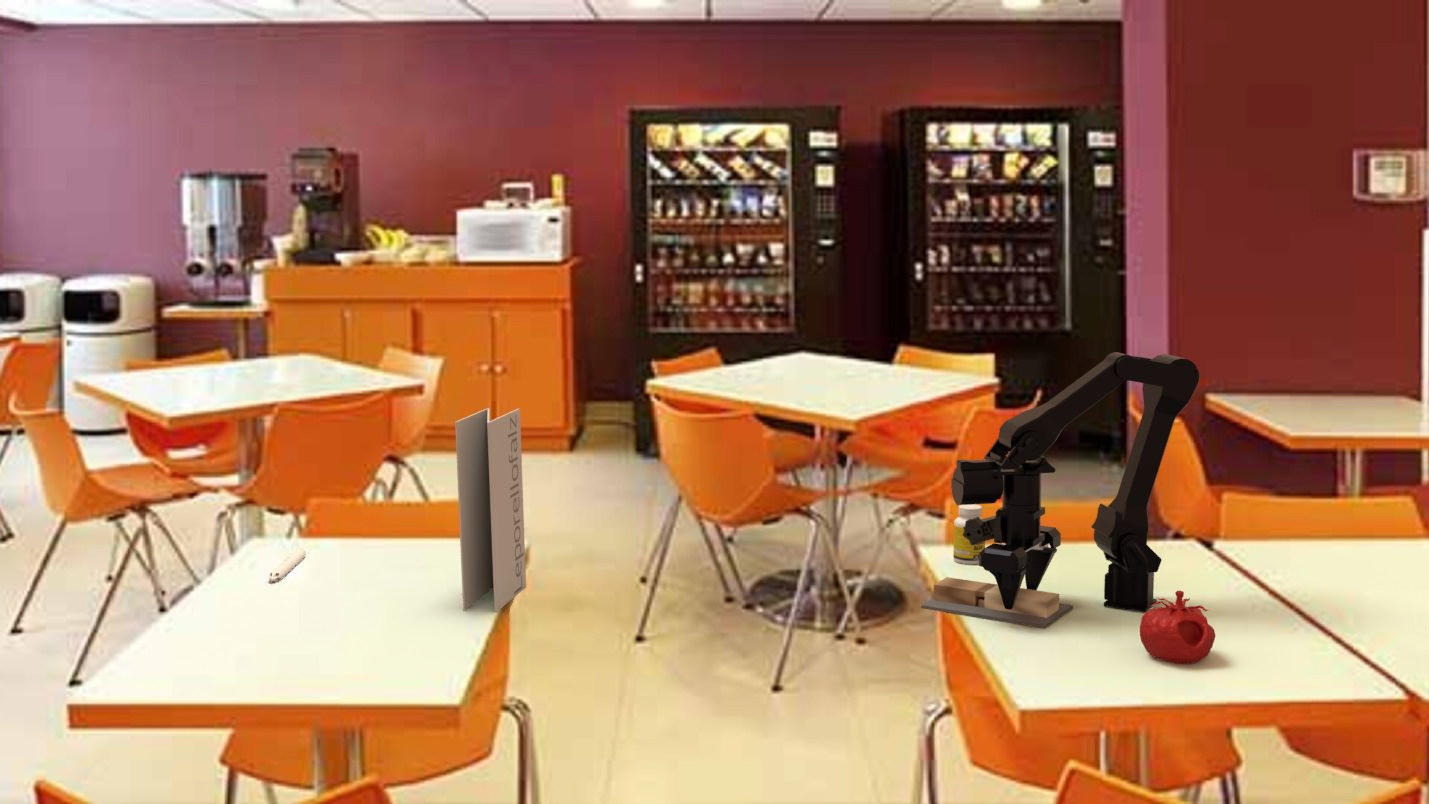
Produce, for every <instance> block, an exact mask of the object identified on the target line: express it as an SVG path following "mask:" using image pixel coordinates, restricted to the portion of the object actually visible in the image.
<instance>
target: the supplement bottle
mask: <svg viewBox="0 0 1429 804" xmlns="http://www.w3.org/2000/svg"><path fill="white" fill-rule="evenodd" d="M958 515H959V516H958V517H956V519H954V523H953V524H954V525H953V561H954V562H956V563H958V564H962V565H979V553H980V552H981V551H982V550H983V549H984V548H986V541H983V542H979V543H978V544H976V545H971V544H970V541H969V540H968V539H967V538H965V537H964V536H963V533H964V528H963V527H965V523H966V521H967V520H969V519H974V518H976V517H979V518H980V519H983V517H981V516H982V515H983V507H982V505H981V504H972V505H958Z"/></svg>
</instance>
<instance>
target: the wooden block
mask: <svg viewBox="0 0 1429 804" xmlns="http://www.w3.org/2000/svg"><path fill="white" fill-rule="evenodd" d="M996 585H998V584H995V583H989V582H983V581H976V580H975V581H974V580H969V579H963V578H955V577H948V576H947V577H944V578H943V579H941V580H940V581H938V582H936V583H934V584H933V598H934V600H937V601H943V602H950V603H956V604H962V605H968V606H977V605H978V599H980V598H981V597H985V592H986V591H988V590H989V589H991V588H993V587H994V586H996Z"/></svg>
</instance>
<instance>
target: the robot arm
mask: <svg viewBox="0 0 1429 804" xmlns="http://www.w3.org/2000/svg"><path fill="white" fill-rule="evenodd" d="M1200 373H1201V372H1200V371H1199V369H1198V368H1197V365H1196V364H1195V363H1194V362H1193V361H1192V360H1189V359H1188V358H1184V357H1180V356H1176V355H1171V354H1168V353H1167V354H1165V353H1163V354H1158V355H1156V356H1155V357H1153V358H1148V357H1142V356H1135V355H1129V354H1125V353H1121V352H1115V351H1114V352H1111V353H1110V354H1108V355H1107V356H1106V357H1104V359H1103V360H1102V361H1101V362H1099V363H1097V364H1096V365H1095V366H1094V367H1093V368H1091V369H1090V370H1088V371H1087V372H1086V373H1084V374H1083V375H1082V376H1080V377H1079V378H1078V379H1077V380H1075V381H1074V382H1072V383H1071V384H1069V385H1068V386H1067V387H1066V388H1064V389H1063V390H1061V391H1060V392H1059V393H1058V394H1056V395H1055V396H1054V397H1052V398H1051V399H1049V400H1048V401H1047V402H1045V403H1043V404H1041V405H1039V406H1037V407H1034V408H1029V409H1027V410H1024V411H1022V412H1020V413H1019V414H1016V415H1014V416H1012V417H1011V418H1009V419H1006V420H1005V421H1004V422H1003V424H1001V426H1000V428H999V432H998V437H997V439H996V440H995V442H993V444H992V445H991V447H990V448H989V449H988V451H987V453H986V454H985V455H984V456H983V457H984V459H973V460H972V459H971V460H970V459H957V460H956V467H955V468H954V470H953V475H952V478H951V479H950V480H951V481H950V485H951V486H950V487H951V495H952V498H953V501H954V503H955V504H956V506H960V505H972V504H975V505H991V504H995V503H997V500H1002V501H1001V502H1002V504H1001V505H1002V507H1000V508H997V510H996V511H995V515H992V516H989V517H984V518H982V519H980V518H979V517H976V518H974V519H969V520H967V521H966V523H965V527H963V528H964V533H963V536H964V537H965V538H967V539H968V540H969V541H970V544H971V545H976V544H978V543H979V542H983V541H985V542H986V541H990V540H993V543H992V544H990V545H987V546H985V548H984V549H983V550H982V551H981V552H980V553H979V564H978V566H979V567H982V568H983V570H985V571H987V572H989V573H990V574H992V576H993V577H994V578H995V581H996V583H997V585H998V587H999V591H1000V594H1001V597H1002V601H1003V604H1004V607H1005V609H1009V610H1011V609H1013V606H1014V604H1015V601H1016V598H1017V595H1018V592H1019V590H1020V588H1022V587H1021V586H1022V583H1023V580H1024V578H1025V586H1026V588H1025V589H1030V590H1037V591H1038V588H1039V586H1040V585H1041V582H1042V580H1043V578H1044V576H1045V574H1046V572H1047V570H1048V568H1049V566H1050V564H1051V562H1052V560H1053V558H1054V557H1055V554H1056V553H1057V551H1058V547H1060V546H1061V542H1062V541H1061V540H1062V539H1061V538H1062V536H1061V535H1062V534H1061V532H1060V531H1059V530H1058V528H1056V527H1054V526H1046V525H1041V523H1042V522H1041V517H1042V516H1044V515H1045V514H1046V507H1045V506H1042V474H1053V473H1056V468H1055V467H1054V466H1053V465H1051V464H1050V463H1049V461H1048V460H1047V458H1046V457H1045V456H1043V455H1044V454H1045V453H1046V452H1047V451H1048V450H1049V448H1051V447H1052V446H1053V445H1054V443H1056V441H1057V440H1058V437H1059V436H1060V434H1061V433H1062V431H1063V430H1064V429H1065V428H1066V427H1067V425H1070V423H1072V422H1074V420H1076V419H1077V418H1079V417H1080V416H1081V415H1082V414H1084V413H1085V412H1086V411H1088V410H1089V409H1090V408H1092V407H1093V406H1095V405H1096V404H1097V403H1099V402H1100V401H1101V400H1103V399H1105V397H1107V396H1108V395H1110V394H1111V393H1112V392H1114V391H1115V390H1116V389H1118V388H1119V387H1120V386H1122V385H1123V384H1124V383H1125V382H1128V381H1130V382H1136V383H1141V384H1142V397H1143V399H1142V400H1143V413H1142V416H1141V419H1140V422H1139V425H1138V428H1137V430H1136V435H1135V437H1134V441H1133V443H1132V447H1131V450H1130V454H1129V455H1128V456H1129V457H1128V459H1127V463H1126V466H1125V469H1124V473H1123V475H1122V478H1121V482H1120V485H1119V487H1118V492H1117V494H1116V497H1115V498H1114V499H1113V500H1112V501H1111V502H1110V503H1109V504H1108V506H1107V505H1105V504H1103V503H1100V504H1099V505H1098V508H1097V514H1096V518H1095V521H1093V523H1092V525H1091V529H1093V540H1094V543H1095V545H1096V546H1097V547H1098V548H1099V549H1100V550H1101V551H1102V553H1103V555H1104V558H1105V560H1106V561H1108V562H1111V563H1110V564H1108V565H1107V566H1108V569H1107V570H1108V571H1107V572H1106V573H1105V574H1104V588H1103V589H1104V594H1103V599H1104V600H1105V601H1104V602H1103V607H1108V608H1114V609H1120V610H1121V609H1122V610H1128V611H1129V610H1130V611H1135V612H1141V613H1146V612H1147V611H1149V609H1151V608H1152V607H1153V606H1154V605H1153V604H1154V603H1156V602H1158V601H1157V599H1158V598H1154V588H1155V587H1154V585H1155V584H1154V582H1155V578H1154V577H1155V573H1157V572H1158V571H1159V568H1160V565H1161V563H1162V558H1161V557H1160V556H1159V555H1158V554H1157V553H1156V552H1155V551H1154V550H1153V549H1152V548H1151V547H1150V546H1149V545H1148V539H1149V538H1148V537H1149V533H1150V532H1149V531H1150V523H1149V513H1148V505H1149V501H1150V499H1151V496H1152V492H1153V490H1154V487H1155V482H1156V479H1157V476H1158V474H1159V470H1160V467H1161V464H1162V461H1163V458H1164V454H1165V452H1166V448H1167V445H1168V443H1169V439H1170V435H1171V433H1172V429H1173V426H1174V423H1175V420H1176V419H1177V417H1178V416H1179V414H1180V413H1182V411H1183V410H1184V409H1185V408H1186V407H1187V405H1189V403H1190V402H1191V400H1192V398H1193V395H1194V393H1195V392H1196V389H1197V388H1198V386H1199V384H1200V378H1201V374H1200ZM1001 498H1002V499H1001ZM1149 605H1153V606H1149Z"/></svg>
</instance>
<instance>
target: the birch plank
mask: <svg viewBox="0 0 1429 804" xmlns="http://www.w3.org/2000/svg"><path fill="white" fill-rule="evenodd" d="M1059 603H1060V593H1055V592H1050V591H1042V590H1038V589H1037V590H1030V589H1027V588H1024V587H1023V588H1022V587H1020V590H1019V592H1018V595H1017V598H1016V601H1015V604H1014V606H1013V609H1011V610H1009V609H1005V607H1004V604H1003V601H1002V597H1001V594H1000V591H999V587H998V584H997V585H996V586H994V587H993V588H991V589H989V590H988V591H986V592H985V597H981V598H980V599H978V606H981V607H984V608H987V609H993V610H1000V611H1006V612H1012V613H1019V614H1025V615H1031V616H1037V617H1044V618H1048V617H1049V616H1050V615H1052V614H1053V613H1055V612H1056V611H1058V610H1059Z"/></svg>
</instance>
